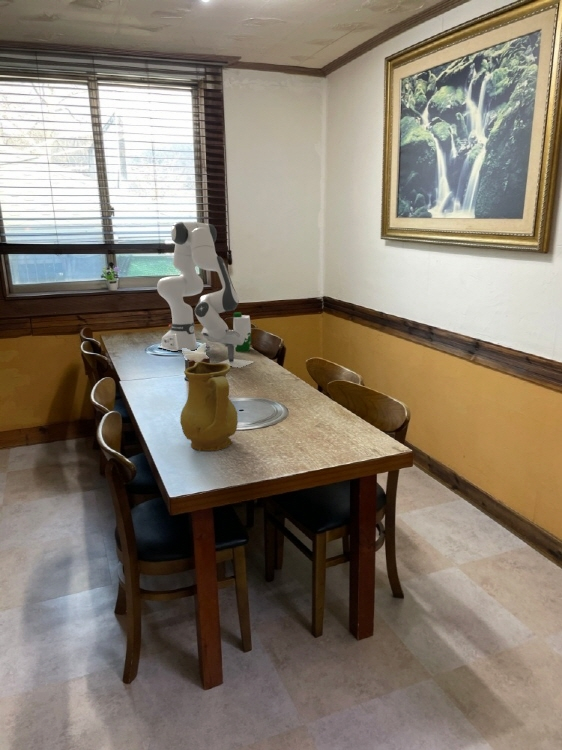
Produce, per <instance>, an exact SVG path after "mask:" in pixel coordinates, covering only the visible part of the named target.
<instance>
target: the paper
mask: <svg viewBox="0 0 562 750" xmlns="http://www.w3.org/2000/svg"><path fill="white" fill-rule="evenodd" d="M219 363H226V364H229V365H230V366H232V367H231V368H237V367H238V369H241V367H242V368H243V366H244V367H247V366H249V365H251V363H252V364H254V363H255V361H252V360H245V359H236V358H234V361H233V362H229V359H228V358H227V359H225V360H222V361H221V362H219ZM246 365H247V366H246Z"/></svg>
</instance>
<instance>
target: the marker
mask: <svg viewBox="0 0 562 750" xmlns="http://www.w3.org/2000/svg"><path fill="white" fill-rule="evenodd" d="M228 359H229V362H233V361H234V359H235V348H233V347H232V344H228V347H227V360H228Z"/></svg>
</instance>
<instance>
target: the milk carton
mask: <svg viewBox="0 0 562 750" xmlns="http://www.w3.org/2000/svg"><path fill="white" fill-rule="evenodd" d="M232 324H233V329H232V330H236V331H238V332H239V333H240V334H241V335H242V336H243V337H244V338H245V340H244V343H243V344H242V345H237V347H236V348H234V352H235V351H242V352H250V349H251V344H252V327H251V326H252V325H251V318H250V315H245V314H244V315H242V312H240V311H238V312H233V322H232Z"/></svg>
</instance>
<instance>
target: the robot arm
mask: <svg viewBox="0 0 562 750" xmlns="http://www.w3.org/2000/svg"><path fill="white" fill-rule="evenodd" d="M217 234H218V233H217V229H216V228H215V226H214V224H211V223H203V222H197V221H194V222H192V221H186V222H183V221H178V222H174V224H173V225H172V226H171V231H170V235H171V236H170V237H171V239H172V241H173V242H174V245H175V246H174V252H173V258H172V259H173V260H172V265H173V266H174V268H175V269H176V270H177V271H179V272H180V275H172V276H165V277H162V278H161V279H159V280H157V281H158V282H157V284H156V289H157V293H158V294H159V296H161V297H162V298H163V299H164V300H165V301H166V302H167V303H168V305H169V308H170V310H171V318H172V319H171V321H172V322H171V323H169V324H168V327H170V328H169V330H168V331H167V332H166V333H165V334H164V335H162V337H161V342H160V343H161V344H160V345H161V346H160V345H157V347H160V348H164V349H168V350H172V351H177V350H181V349H182V348H187V349H190V351H195V350H196V349H198V348H199V346H198V343H197V340H196V334H195V328H196V327H195V322H194V314H195V316H196V318H197V320H198V322H199V323H200V325H201V326H202V327H203V328H202V330H201V335H202V336H204V338H205V339H206V340H207V341H209V342H212V343H218V344H221V345H223V346H224V347H225V348H228V344H232V347H233V348H234V349H235V348H236V347H237V345H242V344H243V343H244V340H245V338H244V337H243V336H242V335H241V334H240V333H239V332H238V331H236V330H234V329H229V327H228V325H227V323H226V321H224V320H223V318H221V317H220V313H225V312H231V311H235V309H237V307H238V305H239V297H238V294H237V292H236V290H235V288H234V284H233V281H232V279H231V276H230V272H229V270H228V267H227V264H226V262H225V260H224V259H223V258H222V257H221V256H218V254H217V253H216V247H215V243H216V240H217ZM196 267H198V268H199V269H201V270H204V271H210V272H217V275H218V277H219V280H220V284H221V286H222V289H220V290H218V291H214V292H210V293H207V294H203V295H201V296H200V297H199V300H198V302H197V305H196V306H195V308H194V311H193V308H192V306H191V305H190V304H188V303H186V302H185V301H184V297H192V296H196V295H198V294H201V293H202V291H203V290H204V281H203V279H202V277H201V276H199V275H198V273H197V271H196ZM197 347H198V348H197Z"/></svg>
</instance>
